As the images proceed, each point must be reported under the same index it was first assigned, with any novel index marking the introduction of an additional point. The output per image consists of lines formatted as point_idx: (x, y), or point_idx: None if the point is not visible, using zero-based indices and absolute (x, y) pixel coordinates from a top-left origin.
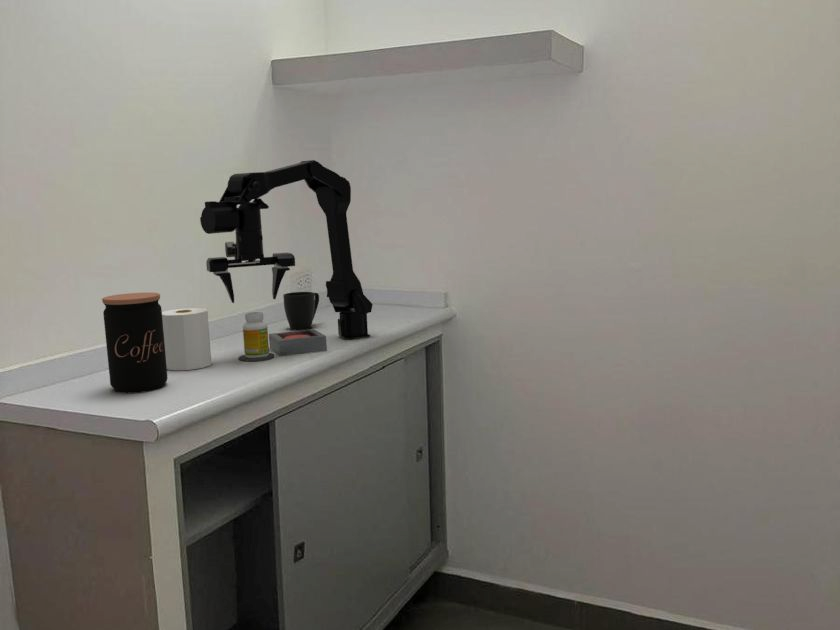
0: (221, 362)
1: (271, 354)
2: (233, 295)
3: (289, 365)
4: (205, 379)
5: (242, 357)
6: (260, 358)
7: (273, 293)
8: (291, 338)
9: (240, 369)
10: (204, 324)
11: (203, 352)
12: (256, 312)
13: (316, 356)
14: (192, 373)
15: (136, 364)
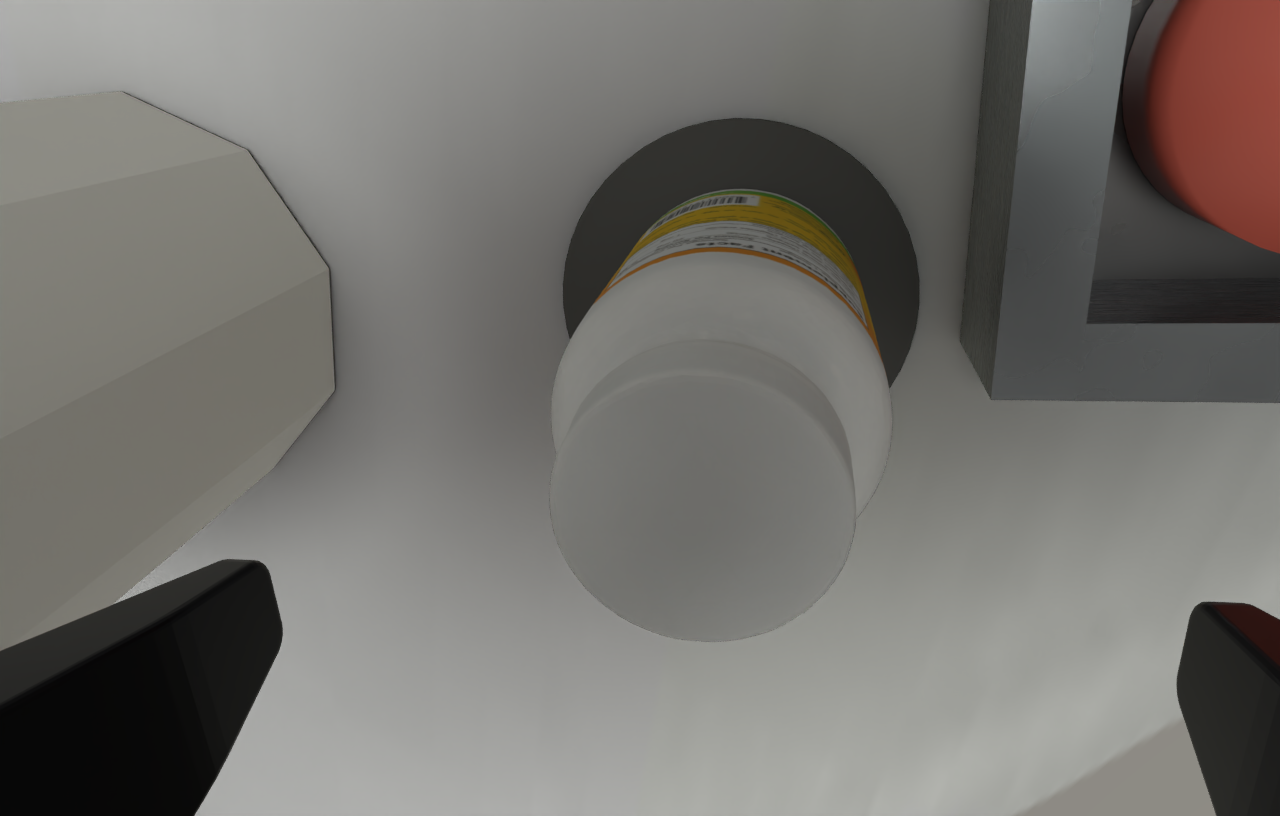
0: (415, 318)
1: (888, 303)
2: (191, 808)
3: (913, 727)
4: (323, 785)
5: (599, 294)
6: None
7: (1237, 804)
8: (1191, 327)
9: (548, 652)
10: None
11: (218, 507)
12: (759, 433)
13: (1267, 537)
14: None
15: None
